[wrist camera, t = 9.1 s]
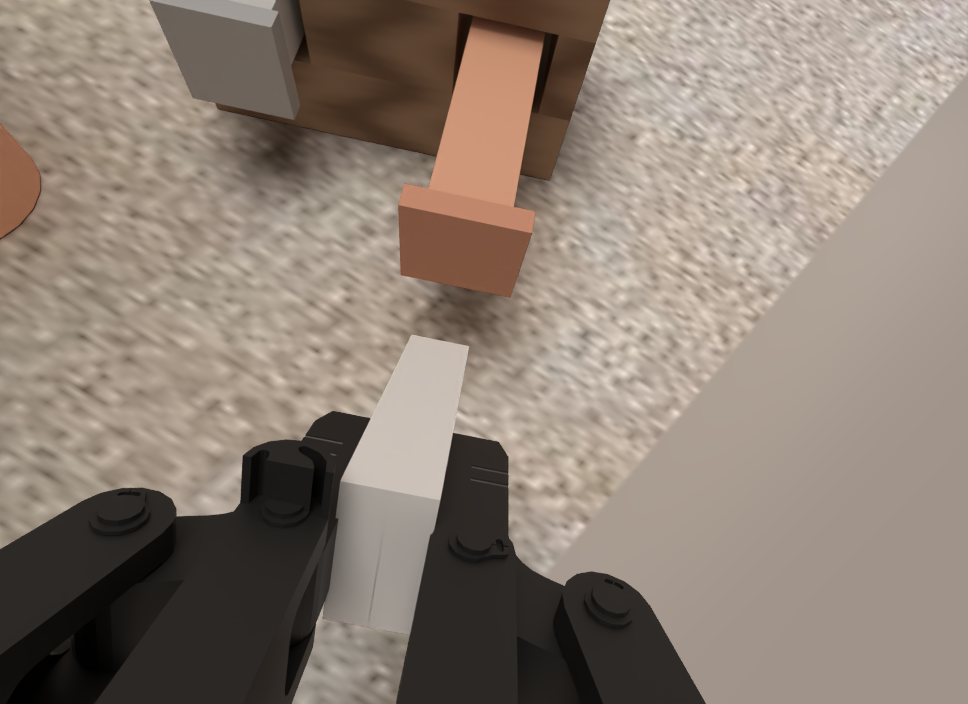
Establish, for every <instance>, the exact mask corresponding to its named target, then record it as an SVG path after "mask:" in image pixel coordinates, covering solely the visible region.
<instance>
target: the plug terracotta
mask: <svg viewBox="0 0 968 704" xmlns="http://www.w3.org/2000/svg"><path fill="white" fill-rule="evenodd" d="M544 36H545V32H543V31H539V30H534V29H530V28H525V27H521V26H517V25H512V24H508V23H503V22H499V21H495V20H490V19H486V18H481V17H477V16H473V20H472V24H471V28H470V31H469V35H468V39H467V43H466V47H465V50H464V54H463V58H462V62H461V66H460V70H459V73H458V77H457V81H456V85H455V89H454V93H453V96H452V100H451V104H450V108H449V112H448V116H447V119H446V123H445V127H444V131H443V135H442V139H441V142H440V146H439V150H438V154H437V158H436V162H435V165H434V169H433V173H432V177H431V181H430V185H429V188H423V187H418V186H414V185H409V184H404V187H403V190H402V194H401V197H400V201H399V204H398V211H399V239H400V266H401V275H404V276H408V277H413V278H418V279H423V280H428V281H433V282H437V283H442V284H447V285H452V286H457V287H462V288H466V289H471V290H476V291H481V292H486V293H491V294H496V295H500V296H505V297H511V294H512V291H513V288H514V285H515V282H516V280H517V277H518V274H519V271H520V268H521V265H522V262H523V259H524V256H525V253H526V250H527V247H528V244H529V241H530V238H531V235H532V230H533V224H534V218H535V211H531V210H526V209H522V208H517V207H514V202H515V196H516V191H517V185H518V180H519V174H520V169H521V163H522V158H523V152H524V147H525V141H526V136H527V130H528V125H529V119H530V114H531V108H532V103H533V97H534V92H535V86H536V80H537V75H538V69H539V64H540V58H541V53H542V47H543V42H544Z"/></svg>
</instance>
